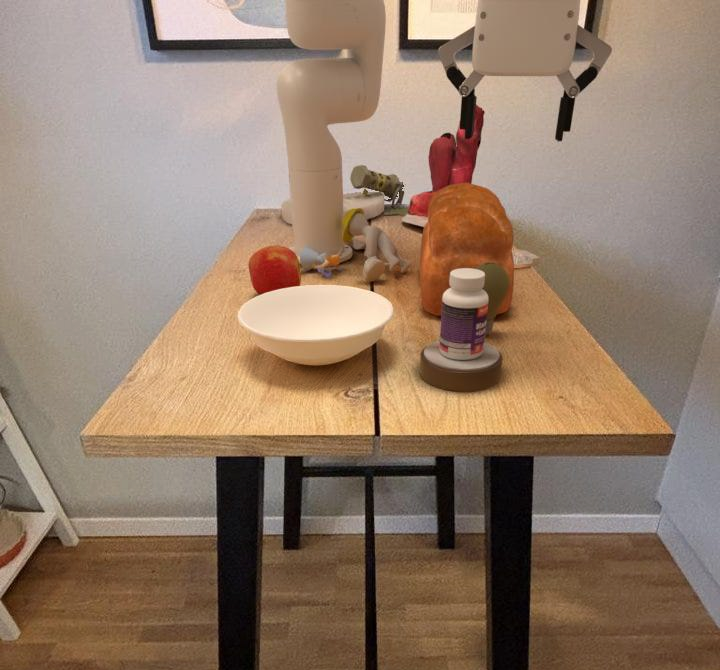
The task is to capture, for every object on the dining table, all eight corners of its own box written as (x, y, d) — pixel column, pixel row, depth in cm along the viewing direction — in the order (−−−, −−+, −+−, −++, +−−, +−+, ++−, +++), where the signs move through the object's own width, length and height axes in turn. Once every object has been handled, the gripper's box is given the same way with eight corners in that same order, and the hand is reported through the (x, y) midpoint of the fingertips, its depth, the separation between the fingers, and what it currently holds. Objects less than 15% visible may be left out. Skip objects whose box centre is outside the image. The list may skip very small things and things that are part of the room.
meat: (454, 242, 128) (418, 107, 122) (399, 264, 150) (366, 150, 143) (543, 214, 136) (514, 85, 129) (478, 239, 157) (450, 129, 151)
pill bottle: (482, 363, 78) (490, 281, 72) (436, 359, 79) (441, 279, 73) (484, 345, 82) (492, 267, 76) (441, 342, 83) (446, 264, 77)
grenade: (353, 160, 148) (397, 173, 158) (343, 190, 151) (387, 201, 162) (373, 171, 144) (417, 184, 155) (362, 202, 147) (406, 212, 158)
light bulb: (479, 324, 95) (485, 254, 89) (511, 334, 92) (520, 262, 86) (454, 335, 92) (460, 263, 86) (487, 346, 89) (495, 272, 83)
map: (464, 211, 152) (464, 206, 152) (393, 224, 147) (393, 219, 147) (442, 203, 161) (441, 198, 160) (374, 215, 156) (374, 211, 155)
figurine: (371, 303, 117) (324, 248, 122) (412, 274, 117) (364, 220, 122) (363, 271, 107) (313, 212, 112) (408, 239, 108) (357, 182, 112)
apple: (298, 306, 102) (295, 254, 98) (245, 306, 103) (239, 254, 98) (305, 289, 109) (302, 240, 104) (255, 289, 109) (250, 240, 105)
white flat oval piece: (257, 219, 150) (256, 206, 148) (334, 196, 168) (333, 184, 166) (334, 231, 138) (333, 217, 137) (407, 205, 156) (407, 192, 155)
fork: (325, 218, 138) (326, 232, 139) (366, 241, 122) (366, 256, 123) (338, 217, 138) (338, 231, 140) (380, 240, 123) (380, 255, 124)
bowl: (228, 340, 91) (222, 295, 88) (360, 319, 97) (359, 276, 94) (265, 402, 76) (259, 350, 73) (418, 372, 82) (420, 324, 78)
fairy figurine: (294, 239, 122) (352, 237, 117) (298, 265, 124) (355, 264, 119) (261, 256, 113) (322, 254, 108) (267, 283, 116) (327, 283, 111)
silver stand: (425, 354, 87) (426, 334, 85) (502, 360, 85) (504, 339, 83) (414, 387, 79) (415, 366, 77) (498, 395, 77) (501, 373, 75)
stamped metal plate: (538, 265, 118) (540, 257, 117) (505, 270, 116) (505, 261, 116) (516, 253, 124) (517, 245, 123) (483, 257, 122) (484, 249, 122)
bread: (418, 319, 96) (423, 208, 88) (419, 265, 118) (422, 172, 109) (514, 321, 95) (528, 209, 87) (497, 266, 117) (506, 172, 108)
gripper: (628, -64, 63) (593, 135, 73) (449, -58, 66) (439, 132, 76) (636, -73, 57) (597, 145, 67) (439, -65, 60) (429, 141, 70)
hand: (513, 138), depth 72 cm, fingers open, 9 cm apart
